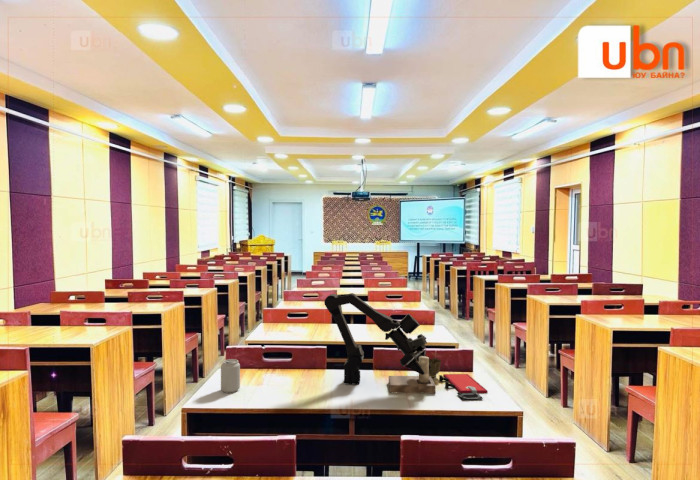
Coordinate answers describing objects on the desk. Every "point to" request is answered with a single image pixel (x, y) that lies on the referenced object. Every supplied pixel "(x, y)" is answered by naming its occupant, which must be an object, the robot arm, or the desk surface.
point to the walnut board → (410, 385)
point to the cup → (434, 367)
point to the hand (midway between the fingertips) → (427, 371)
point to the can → (230, 375)
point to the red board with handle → (463, 385)
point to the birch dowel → (425, 366)
